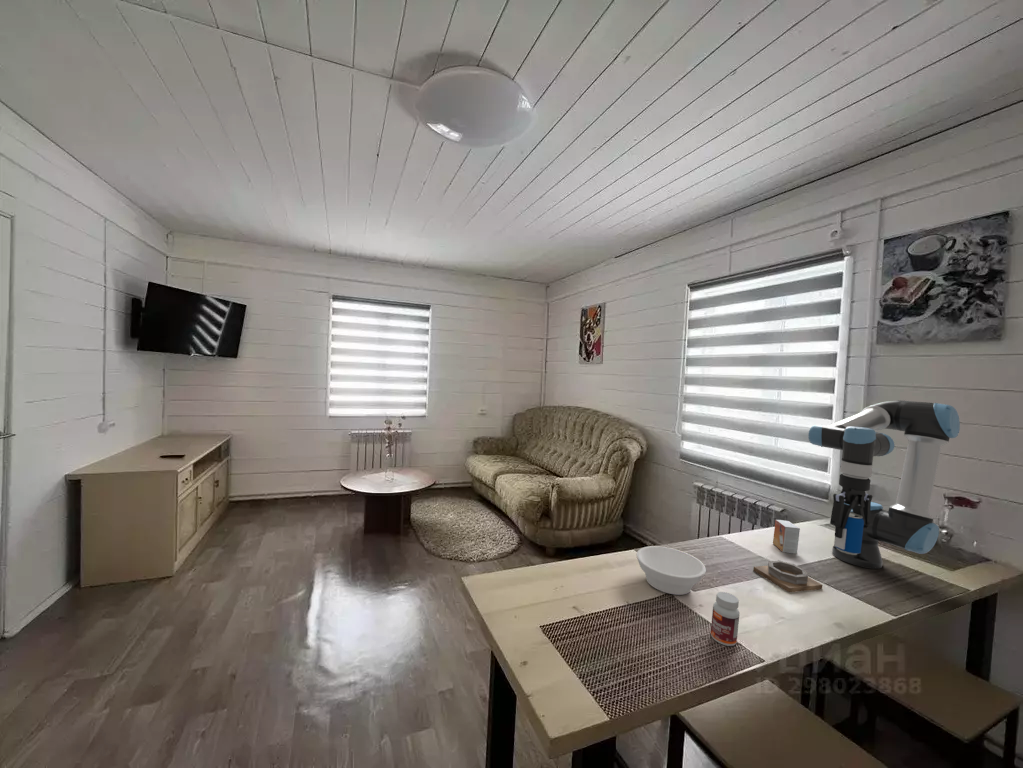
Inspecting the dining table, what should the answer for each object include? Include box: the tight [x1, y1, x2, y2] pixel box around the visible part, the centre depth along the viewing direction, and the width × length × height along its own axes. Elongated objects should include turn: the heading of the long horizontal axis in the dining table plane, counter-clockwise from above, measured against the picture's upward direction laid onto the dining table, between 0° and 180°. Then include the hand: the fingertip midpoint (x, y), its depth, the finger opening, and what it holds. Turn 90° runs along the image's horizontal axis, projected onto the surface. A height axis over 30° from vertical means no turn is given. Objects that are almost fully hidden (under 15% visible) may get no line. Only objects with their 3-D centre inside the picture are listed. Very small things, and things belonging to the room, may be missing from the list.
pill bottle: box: [710, 591, 740, 647], centre depth 106 cm, size 6×6×11 cm
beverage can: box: [835, 512, 864, 555], centre depth 130 cm, size 6×6×12 cm
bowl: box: [636, 545, 707, 596], centre depth 132 cm, size 21×21×8 cm
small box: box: [772, 519, 801, 555], centre depth 167 cm, size 8×6×10 cm
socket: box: [753, 559, 823, 593], centre depth 141 cm, size 14×14×4 cm
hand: (847, 546), depth 130 cm, fingers closed on beverage can, 6 cm apart
